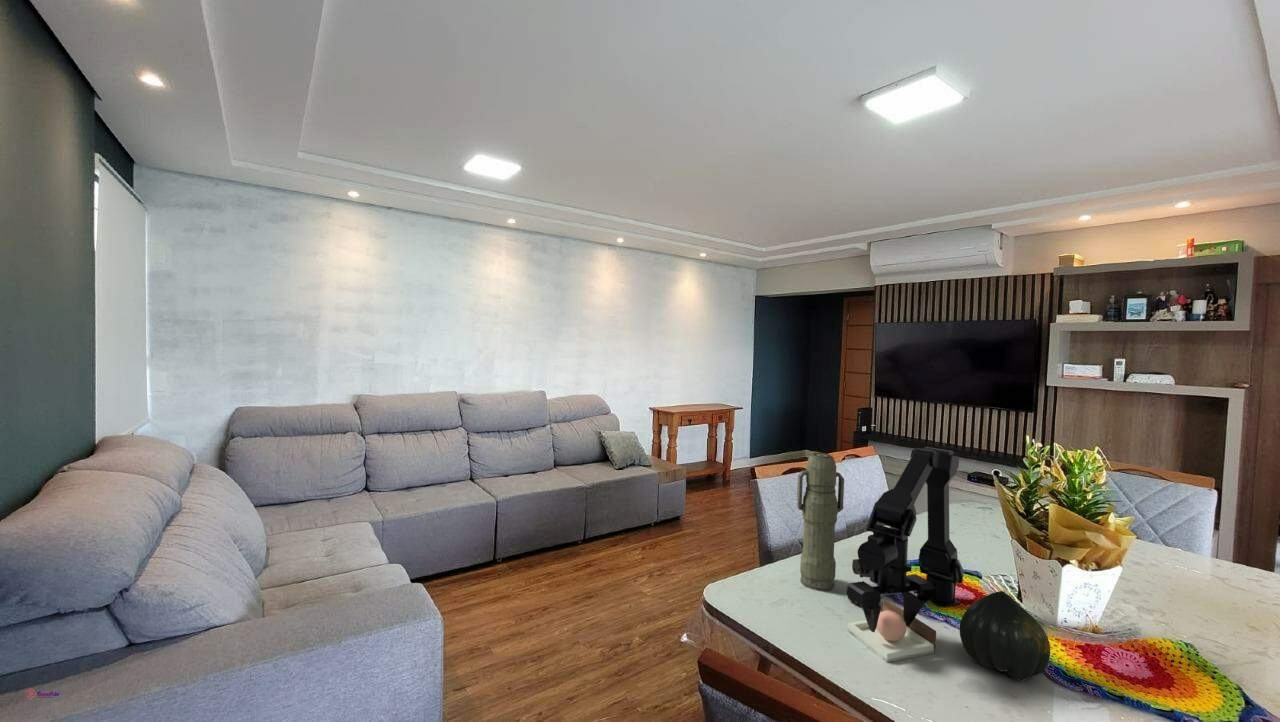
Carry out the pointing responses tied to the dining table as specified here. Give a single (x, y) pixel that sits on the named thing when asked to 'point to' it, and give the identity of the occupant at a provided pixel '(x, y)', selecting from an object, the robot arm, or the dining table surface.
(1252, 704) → the dining table surface
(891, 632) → the ball
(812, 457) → the thermos
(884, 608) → the divider rail
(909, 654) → the dish
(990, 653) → the squash
